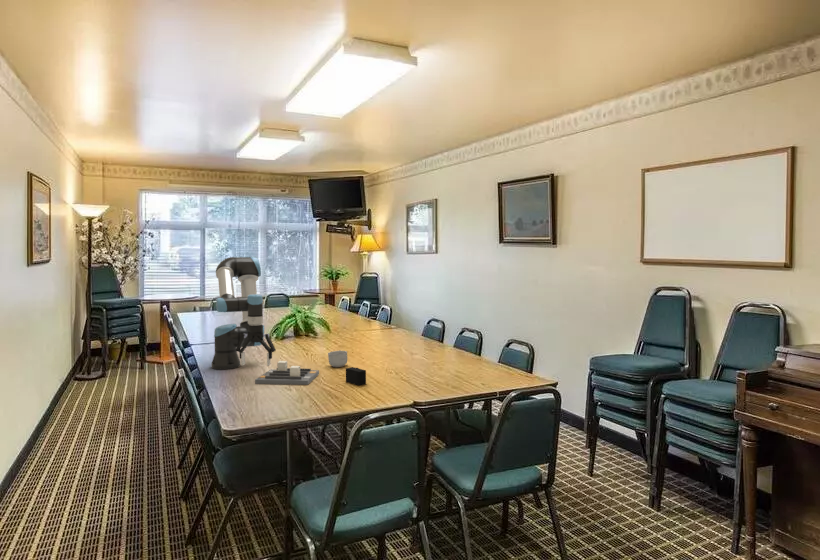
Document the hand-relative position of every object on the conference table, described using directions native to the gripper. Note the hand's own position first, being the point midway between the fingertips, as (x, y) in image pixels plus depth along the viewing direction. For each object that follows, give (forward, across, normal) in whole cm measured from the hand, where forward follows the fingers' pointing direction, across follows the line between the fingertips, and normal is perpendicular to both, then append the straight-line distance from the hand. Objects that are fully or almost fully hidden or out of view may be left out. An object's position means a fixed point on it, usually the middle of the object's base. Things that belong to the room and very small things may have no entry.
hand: (255, 365), depth 263 cm
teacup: (+6, +38, +26) cm, 46 cm away
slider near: (+3, +24, -11) cm, 27 cm away
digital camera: (+6, +55, -11) cm, 56 cm away
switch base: (+5, +19, -6) cm, 21 cm away
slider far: (+3, +14, 0) cm, 14 cm away
